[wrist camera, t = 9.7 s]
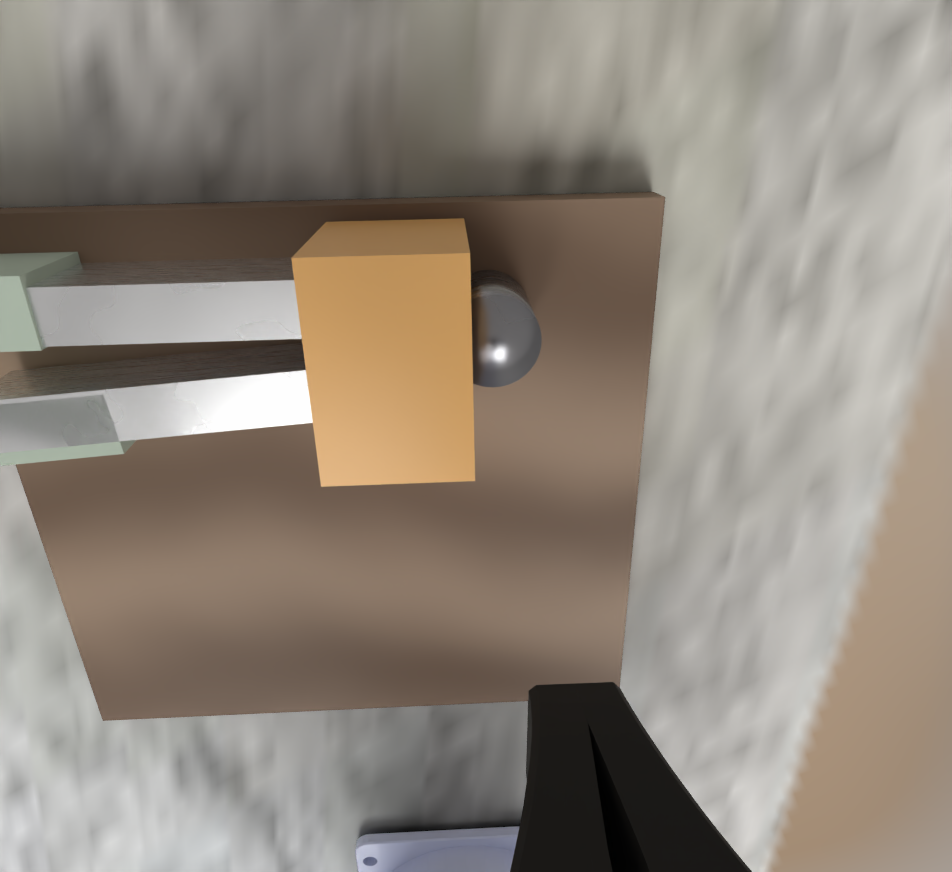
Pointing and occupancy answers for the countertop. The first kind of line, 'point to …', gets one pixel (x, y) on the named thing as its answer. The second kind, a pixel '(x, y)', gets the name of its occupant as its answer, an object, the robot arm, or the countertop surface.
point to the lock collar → (388, 350)
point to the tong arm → (148, 401)
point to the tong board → (342, 507)
